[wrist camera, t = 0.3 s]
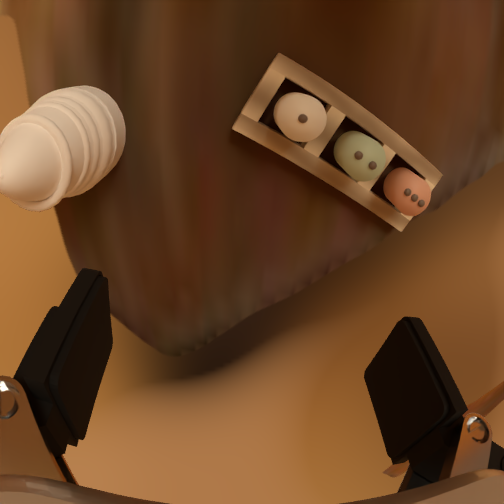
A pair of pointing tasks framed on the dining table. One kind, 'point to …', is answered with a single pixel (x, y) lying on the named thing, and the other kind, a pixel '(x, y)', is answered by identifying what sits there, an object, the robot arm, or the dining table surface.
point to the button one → (300, 116)
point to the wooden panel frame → (329, 136)
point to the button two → (359, 155)
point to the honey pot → (60, 147)
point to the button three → (407, 191)
